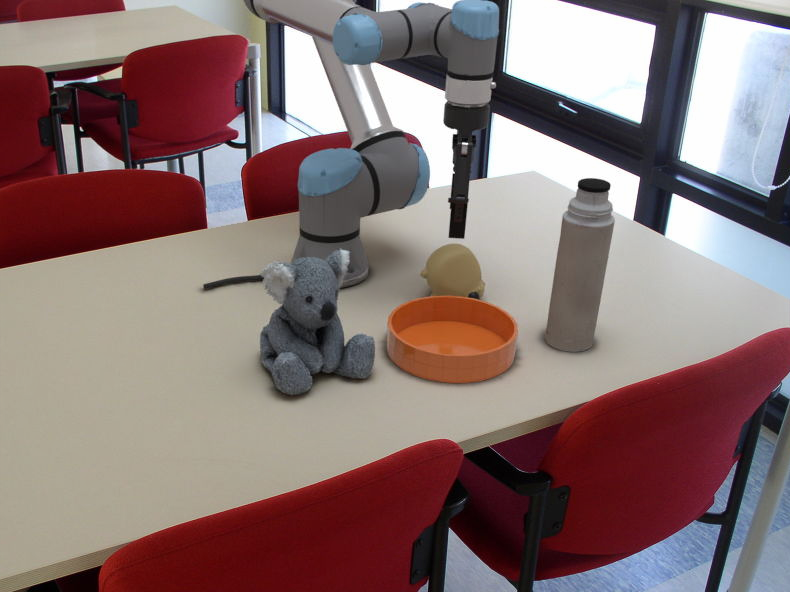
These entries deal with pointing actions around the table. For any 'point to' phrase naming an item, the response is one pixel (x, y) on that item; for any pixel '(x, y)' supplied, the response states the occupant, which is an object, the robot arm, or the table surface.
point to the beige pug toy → (454, 272)
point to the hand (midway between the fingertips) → (456, 222)
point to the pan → (451, 339)
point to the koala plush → (310, 324)
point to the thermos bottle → (580, 267)
